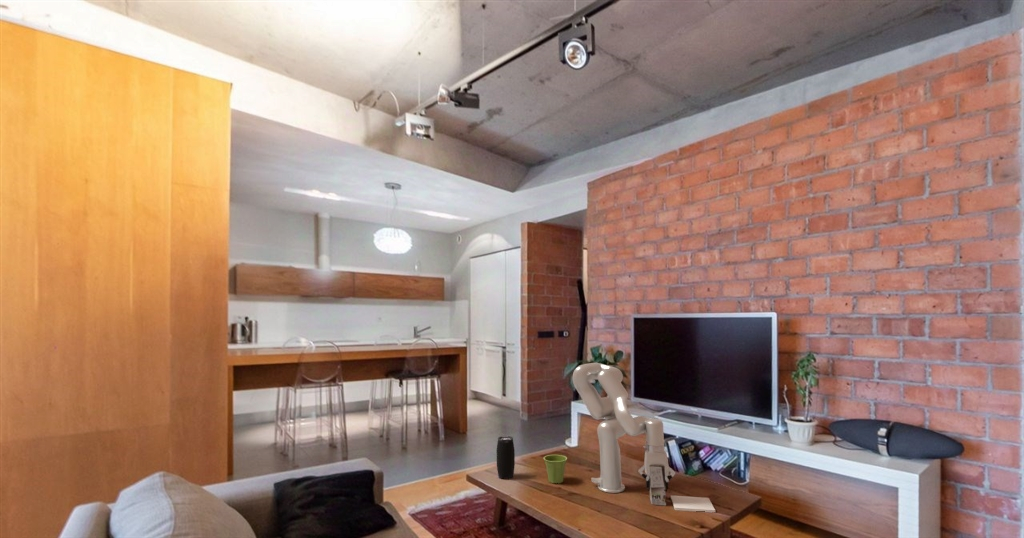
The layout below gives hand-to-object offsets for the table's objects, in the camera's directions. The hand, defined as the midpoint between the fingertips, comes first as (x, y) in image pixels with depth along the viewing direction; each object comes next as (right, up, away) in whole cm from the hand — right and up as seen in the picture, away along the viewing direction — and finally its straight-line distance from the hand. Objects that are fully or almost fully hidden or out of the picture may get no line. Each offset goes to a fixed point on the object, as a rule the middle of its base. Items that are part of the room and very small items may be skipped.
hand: (657, 489), depth 202 cm
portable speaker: (-68, -9, +32) cm, 76 cm away
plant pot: (-43, -8, +25) cm, 50 cm away
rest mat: (+13, -4, -5) cm, 15 cm away
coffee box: (0, -5, 0) cm, 5 cm away
